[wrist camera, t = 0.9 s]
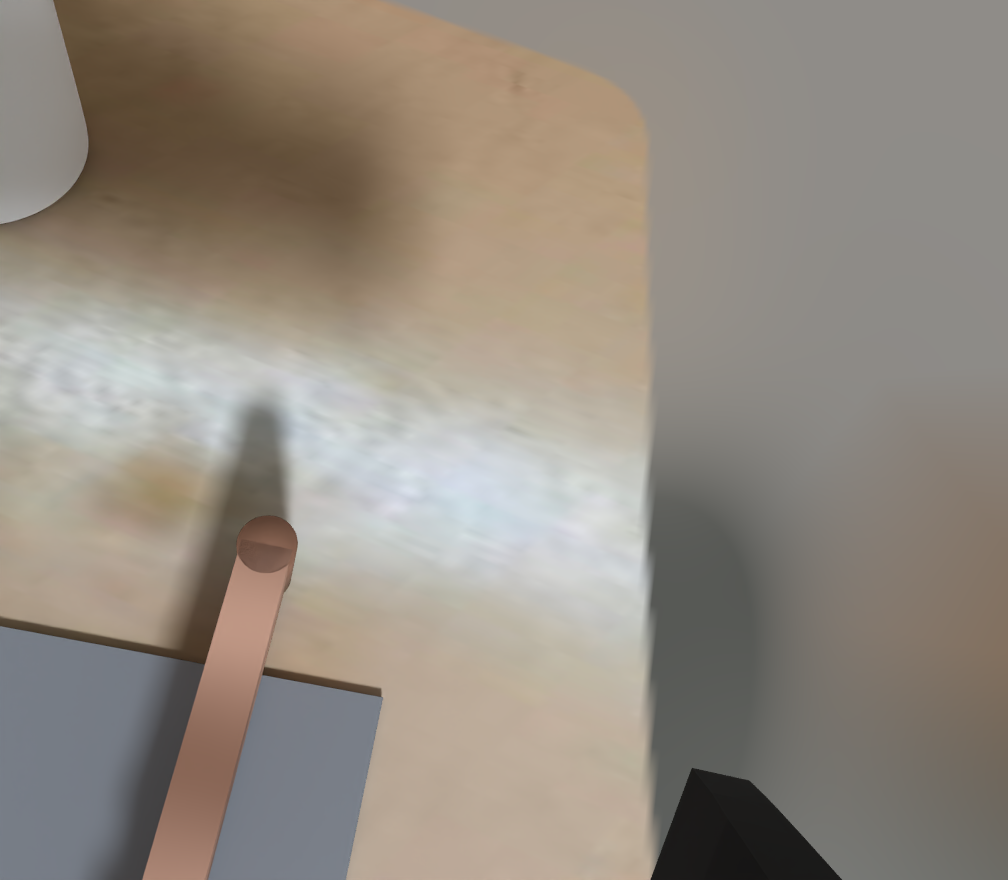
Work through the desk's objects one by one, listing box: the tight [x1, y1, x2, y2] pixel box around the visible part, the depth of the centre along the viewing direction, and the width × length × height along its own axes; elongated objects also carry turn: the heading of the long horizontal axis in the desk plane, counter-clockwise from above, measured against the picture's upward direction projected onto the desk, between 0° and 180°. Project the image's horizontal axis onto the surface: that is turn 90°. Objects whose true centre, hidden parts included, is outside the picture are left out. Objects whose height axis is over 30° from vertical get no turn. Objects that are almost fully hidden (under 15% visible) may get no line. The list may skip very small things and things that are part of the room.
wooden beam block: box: [142, 516, 298, 880], centre depth 19 cm, size 12×1×4 cm, turn 170°
